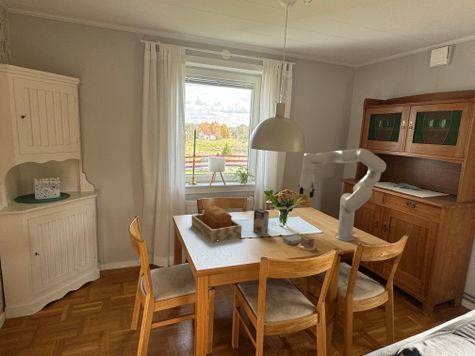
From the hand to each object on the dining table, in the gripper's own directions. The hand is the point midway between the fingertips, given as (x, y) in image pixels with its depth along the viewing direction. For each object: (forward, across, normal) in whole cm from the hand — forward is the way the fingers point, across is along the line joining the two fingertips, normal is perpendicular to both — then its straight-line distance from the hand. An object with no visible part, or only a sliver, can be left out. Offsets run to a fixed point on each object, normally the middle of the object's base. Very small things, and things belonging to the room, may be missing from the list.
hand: (306, 195), depth 196 cm
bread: (+28, -36, -51) cm, 68 cm away
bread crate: (+28, -33, -54) cm, 69 cm away
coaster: (+28, +18, -14) cm, 36 cm away
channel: (+28, +6, -13) cm, 31 cm away
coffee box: (+28, -17, -26) cm, 42 cm away
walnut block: (+28, +18, -14) cm, 35 cm away
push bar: (+29, +6, -16) cm, 33 cm away
